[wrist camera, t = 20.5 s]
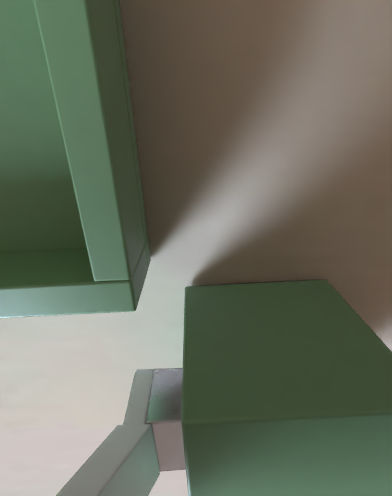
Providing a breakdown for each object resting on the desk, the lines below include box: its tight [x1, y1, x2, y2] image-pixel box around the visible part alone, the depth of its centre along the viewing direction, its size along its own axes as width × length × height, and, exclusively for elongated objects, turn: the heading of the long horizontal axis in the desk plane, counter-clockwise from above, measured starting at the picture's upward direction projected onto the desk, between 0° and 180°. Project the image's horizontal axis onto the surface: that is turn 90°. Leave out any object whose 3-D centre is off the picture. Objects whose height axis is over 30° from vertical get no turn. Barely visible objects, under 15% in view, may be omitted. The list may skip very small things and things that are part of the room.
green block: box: [181, 280, 392, 496], centre depth 8 cm, size 4×4×4 cm
